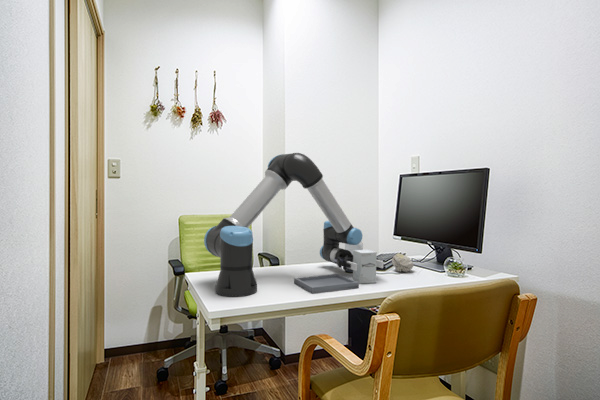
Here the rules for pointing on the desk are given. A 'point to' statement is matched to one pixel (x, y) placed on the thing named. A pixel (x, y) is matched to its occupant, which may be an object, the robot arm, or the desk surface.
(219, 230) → the robot arm
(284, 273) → the desk surface
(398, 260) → the fossil replica
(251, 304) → the desk surface
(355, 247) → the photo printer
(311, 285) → the tray
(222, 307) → the desk surface
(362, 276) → the supplement box
